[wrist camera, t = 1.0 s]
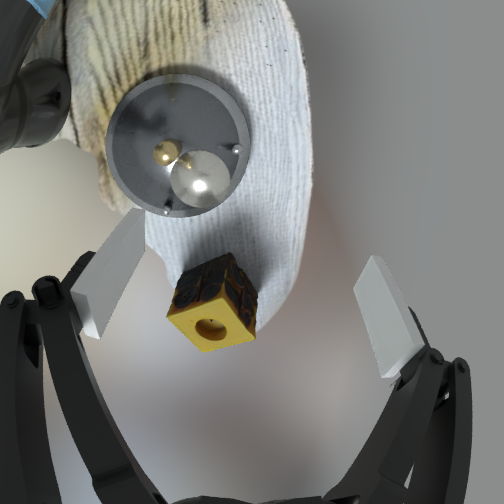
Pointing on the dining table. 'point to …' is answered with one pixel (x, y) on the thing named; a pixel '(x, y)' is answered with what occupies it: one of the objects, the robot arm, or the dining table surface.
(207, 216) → the dining table surface
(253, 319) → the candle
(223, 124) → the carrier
